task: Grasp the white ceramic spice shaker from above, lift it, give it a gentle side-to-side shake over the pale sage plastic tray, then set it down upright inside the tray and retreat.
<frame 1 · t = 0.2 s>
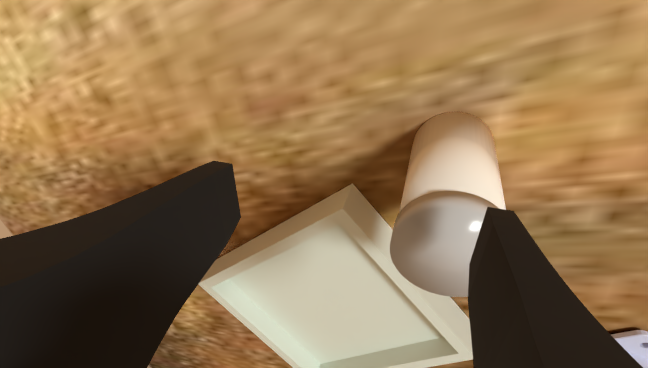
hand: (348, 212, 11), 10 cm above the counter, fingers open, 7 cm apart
tray: (334, 290, 28), on the counter
spice shaker: (452, 147, 19), on the counter
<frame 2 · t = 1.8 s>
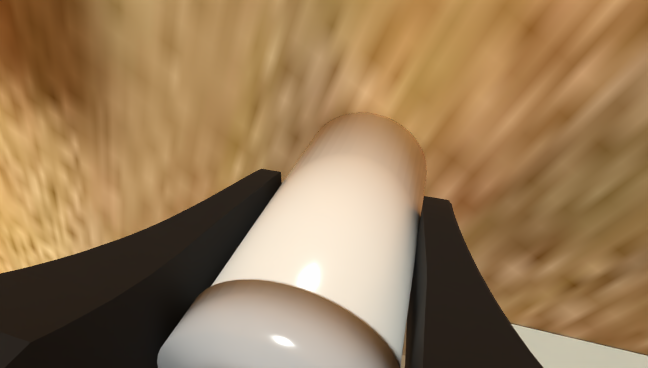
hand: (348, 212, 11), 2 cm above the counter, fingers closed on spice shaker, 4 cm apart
spice shaker: (365, 168, 13), on the counter, touching gripper
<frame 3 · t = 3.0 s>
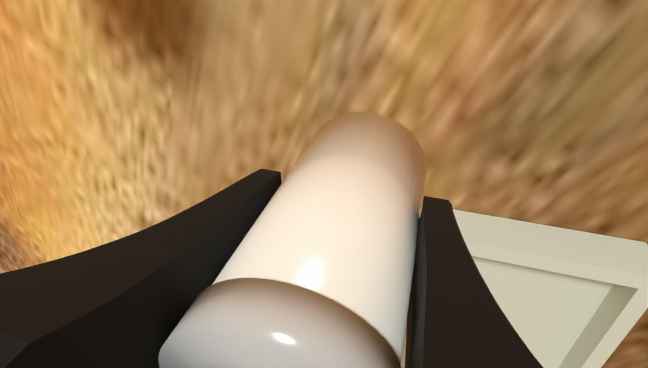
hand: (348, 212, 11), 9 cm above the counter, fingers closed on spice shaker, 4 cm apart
tray: (463, 305, 24), on the counter
spice shaker: (364, 167, 13), point 7 cm above the counter, touching gripper
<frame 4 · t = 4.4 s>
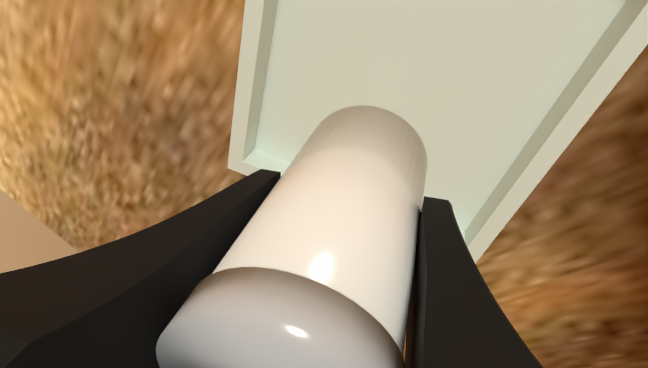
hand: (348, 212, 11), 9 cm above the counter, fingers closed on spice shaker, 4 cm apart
tray: (404, 68, 17), on the counter
spice shaker: (365, 162, 12), point 7 cm above the counter, touching gripper
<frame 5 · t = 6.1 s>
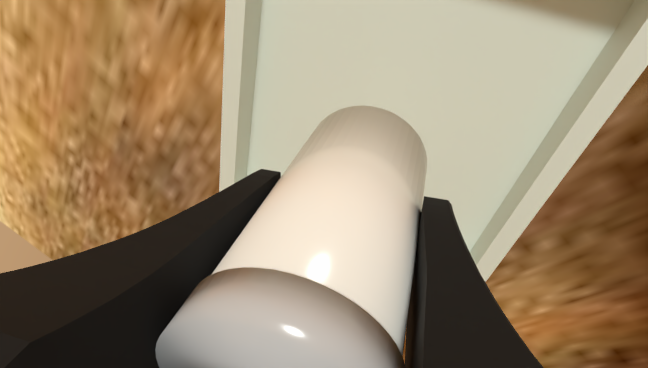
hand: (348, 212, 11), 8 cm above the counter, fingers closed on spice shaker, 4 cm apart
tray: (390, 105, 17), on the counter
spice shaker: (365, 162, 12), point 6 cm above the counter, touching gripper
when the fingers open (4 cm above the counter, at t = 7.2 s): spice shaker stays where it is, resting on tray.
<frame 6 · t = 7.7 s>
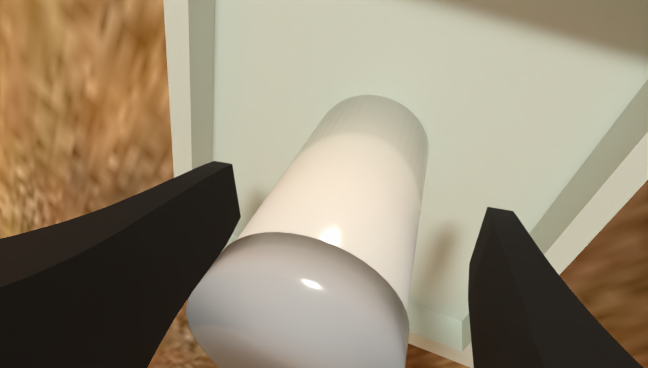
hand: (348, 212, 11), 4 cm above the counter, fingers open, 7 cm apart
tray: (375, 141, 14), on the counter
spice shaker: (370, 149, 13), point 1 cm above the counter, touching tray
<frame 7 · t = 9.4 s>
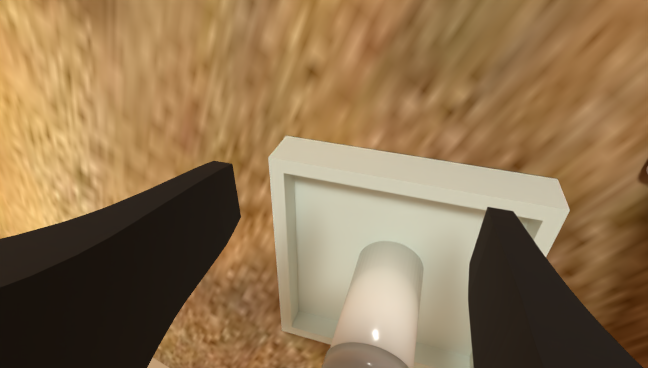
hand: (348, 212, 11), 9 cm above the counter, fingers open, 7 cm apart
tray: (393, 256, 24), on the counter
spice shaker: (390, 266, 23), point 1 cm above the counter, touching tray
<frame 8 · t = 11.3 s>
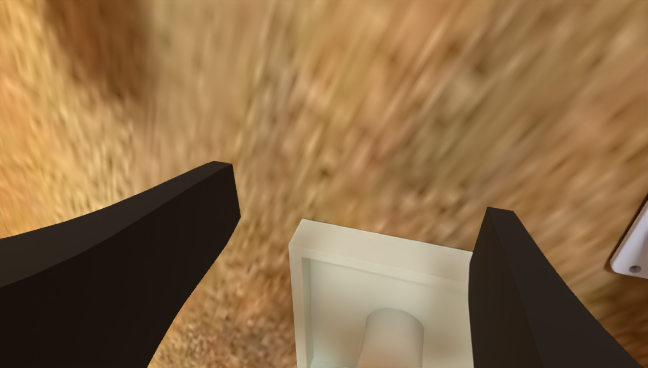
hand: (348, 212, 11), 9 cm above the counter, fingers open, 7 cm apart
tray: (397, 316, 27), on the counter
spice shaker: (394, 327, 26), point 1 cm above the counter, touching tray
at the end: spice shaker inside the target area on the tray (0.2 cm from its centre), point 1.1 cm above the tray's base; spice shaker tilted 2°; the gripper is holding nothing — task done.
